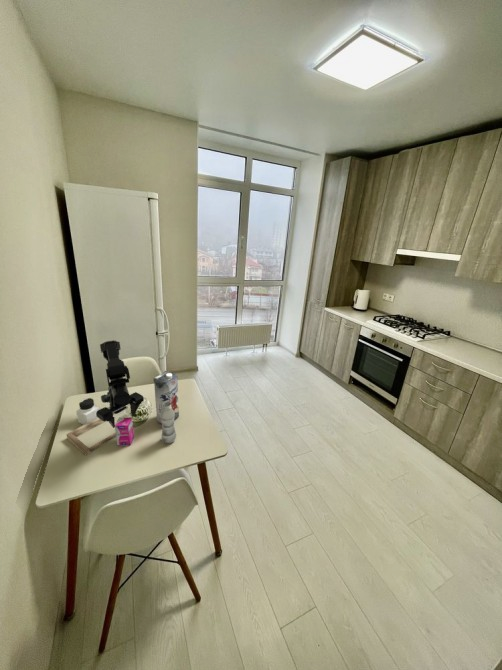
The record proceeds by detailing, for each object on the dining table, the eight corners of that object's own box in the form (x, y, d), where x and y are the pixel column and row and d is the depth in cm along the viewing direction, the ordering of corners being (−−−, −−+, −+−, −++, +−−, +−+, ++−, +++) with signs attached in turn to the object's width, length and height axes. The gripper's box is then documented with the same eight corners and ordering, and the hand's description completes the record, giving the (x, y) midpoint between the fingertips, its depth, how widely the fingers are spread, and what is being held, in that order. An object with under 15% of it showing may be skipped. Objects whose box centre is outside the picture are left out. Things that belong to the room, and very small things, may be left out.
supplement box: (117, 446, 118) (113, 425, 114) (121, 437, 123) (119, 416, 119) (130, 446, 118) (127, 425, 114) (134, 436, 124) (132, 416, 120)
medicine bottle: (101, 419, 134) (97, 399, 130) (87, 427, 128) (83, 406, 124) (91, 414, 137) (88, 394, 133) (78, 422, 131) (74, 402, 127)
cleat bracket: (107, 418, 135) (106, 413, 134) (126, 431, 127) (125, 426, 126) (67, 439, 120) (66, 434, 119) (86, 455, 112) (85, 449, 111)
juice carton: (154, 422, 134) (150, 376, 125) (167, 411, 143) (165, 367, 134) (168, 428, 131) (165, 380, 122) (181, 416, 140) (179, 370, 131)
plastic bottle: (179, 437, 125) (177, 401, 118) (170, 447, 119) (168, 410, 112) (167, 433, 127) (165, 398, 120) (158, 443, 121) (155, 406, 114)
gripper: (127, 377, 123) (131, 405, 128) (86, 394, 108) (92, 425, 114) (143, 384, 118) (145, 413, 123) (101, 404, 103) (106, 436, 108)
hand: (123, 421), depth 117 cm, fingers open, 9 cm apart
